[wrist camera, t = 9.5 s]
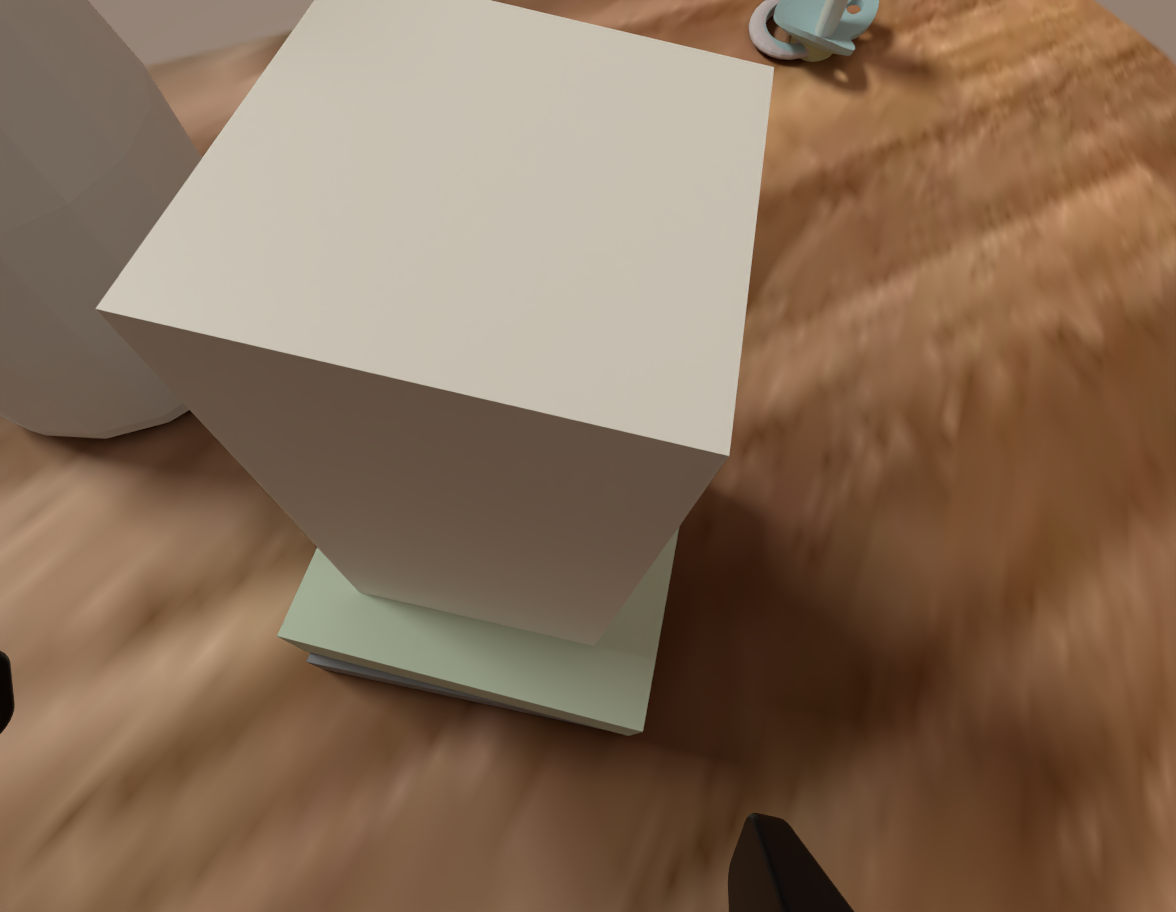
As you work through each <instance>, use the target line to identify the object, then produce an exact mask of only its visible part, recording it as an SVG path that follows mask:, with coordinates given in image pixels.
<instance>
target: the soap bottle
mask: <svg viewBox="0 0 1176 912" xmlns="http://www.w3.org/2000/svg"><path fill="white" fill-rule="evenodd" d="M201 159H202V157H201V155H200V154H199V152H198V151H197V149H196V147H195V146H194V144H193V143H192V141H191V140H190V138H189V136H188V135H187V133H186V132H185V130H184V128H183V127H182V125H181V124H180V122H179V120H178V119H177V117H176V116H175V114H174V112H173V111H172V109H171V108H170V106H169V104H168V103H167V101H166V100H165V98H164V96H163V95H162V93H161V92H160V90H159V89H158V87H157V85H156V84H155V82H154V81H153V79H152V77H151V76H150V74H149V73H148V71H147V69H146V68H145V66H144V65H143V63H142V62H141V61H140V60H139V58H138V57H137V56H136V55H135V54H134V53H133V52H132V51H131V49H130V48H129V47H128V46H127V45H126V44H125V42H124V41H123V40H122V39H121V38H120V37H119V36H118V35H117V33H116V32H115V31H114V30H113V29H112V27H111V26H110V25H109V24H108V23H107V22H106V21H105V19H104V18H103V17H102V16H101V15H100V14H99V13H98V12H97V10H96V9H95V8H94V7H93V6H92V5H91V3H90V2H89V1H88V0H0V417H2V418H4V419H6V420H9V421H11V422H13V423H15V424H17V425H19V426H21V427H23V428H25V429H28V430H30V431H33V432H36V433H39V434H42V435H48V436H67V437H86V438H105V439H106V438H110V437H114V436H118V435H122V434H126V433H130V432H133V431H137V430H141V429H145V428H149V427H153V426H156V425H160V424H164V423H168V422H170V421H172V420H174V419H175V418H177V417H178V416H180V415H182V414H183V413H185V412H187V411H188V410H189V409H188V408H187V407H186V406H185V405H184V403H183V402H182V401H181V400H180V399H179V398H178V397H177V396H176V395H175V394H174V393H173V392H172V391H171V390H170V388H169V387H168V386H167V385H166V384H165V383H164V382H163V381H162V380H161V379H160V378H159V377H158V376H157V374H156V373H155V372H154V371H153V370H152V369H151V368H150V367H149V366H148V365H147V364H146V363H145V362H144V360H143V359H142V358H141V357H140V356H139V355H138V354H137V353H136V352H135V351H134V350H133V349H132V348H131V347H130V345H129V344H128V343H127V342H126V341H125V340H124V339H123V338H122V337H121V336H120V335H119V334H118V333H117V331H116V330H115V329H114V328H113V327H112V326H111V325H110V324H109V323H108V322H107V321H106V320H105V319H104V317H103V316H102V315H101V314H100V313H99V312H98V311H97V310H96V307H97V306H98V304H99V303H100V302H101V300H102V299H103V297H104V296H105V295H106V293H107V292H108V290H109V289H110V287H111V286H112V285H113V283H114V282H115V280H116V279H117V278H118V276H119V275H120V273H121V272H122V271H123V269H124V268H125V266H126V265H127V264H128V262H129V261H130V259H131V258H132V257H133V255H134V254H135V252H136V251H137V249H138V248H139V247H140V245H141V244H142V242H143V241H144V240H145V238H146V237H147V235H148V234H149V233H150V231H151V230H152V228H153V227H154V226H155V224H156V223H157V221H158V220H159V218H160V217H161V216H162V214H163V213H164V211H165V210H166V209H167V207H168V206H169V204H170V203H171V202H172V200H173V199H174V197H175V196H176V195H177V193H178V192H179V190H180V189H181V187H182V186H183V185H184V183H185V182H186V180H187V179H188V178H189V176H190V175H191V173H192V172H193V171H194V169H195V168H196V166H197V165H198V164H199V162H200V161H201Z"/></svg>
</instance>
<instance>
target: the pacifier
mask: <svg viewBox="0 0 1176 912" xmlns="http://www.w3.org/2000/svg"><path fill="white" fill-rule="evenodd" d="M878 4H879V0H765V1H764V2H762V3H761V4H760V5H759V6H758V7H757V8H756V10H755V11H754V13H753V15H752V17H751V19H750V23H749V33H750V38H751V40H752V42H753V44H754V45H755V46H756V47H757V48H758V49H759V50H760V51H761V52H763V53H765V54H767V55H768V56H770V57H774V58H778V59H788V60H791V59H798V58H800V59H802V60H805V61H810V62H816V61H821V60H824V59H826V58H828V57H830V56H831V55H832V54H839V55H845V56H851V54H852V53H853V51H854V50H855V46H854V44H853V42H852V41H851V40H852V39H855V38H857V37H858V36H860V35H861V34H863V33H864V32H865V31H866V30H867V28H868V27H869V26H870V24H871V22H872V21H873V19H874V18H875V15H876V13H877V10H878ZM851 5H858V6H859V7H860V9H861V11H860V12H859V13H857V14H850V13H848V12H847V10H846V8H847V7H848V6H851ZM773 15H774V21H775V22H776V24H777V25H779V26H780V27H781V28H782V29H783V30H784V31H786V32H787V33H788V34H790V35H791V40H790V44H788V43H784V42H780V41H778V40H777V39H775V38H773V37H772V36H771V35H770V34H769V32H768V30H767V28H766V22H767V20H768V19H769V18H770V17H771V16H773Z"/></svg>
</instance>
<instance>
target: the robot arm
mask: <svg viewBox="0 0 1176 912" xmlns="http://www.w3.org/2000/svg"><path fill="white" fill-rule="evenodd" d="M13 712H14V694H13V684H12V674H11V664H10V660H9V658H8V656H7V655H6V654H5V653H3V652H2V651H0V734H1V733H2V731H3V730H4V729H5V728H6V726H7V725H8V723H9V722H10V720H11V717H12V715H13ZM728 898H729V912H854V911H853V909H852V908H851V907H850V905H849V904H848V903H847V901H846V900H845V899H844V897H843V896H842V895H841V893H840V892H839V891H838V889H837V888H836V887H835V885H834V884H833V883H832V881H831V880H830V879H829V877H828V876H827V875H826V873H825V872H824V871H823V869H822V868H821V867H820V865H819V864H818V863H817V861H816V860H815V859H814V857H813V856H812V855H811V853H810V852H809V851H808V849H807V848H806V847H805V845H804V844H803V843H802V841H801V840H800V838H799V837H798V836H797V834H796V833H795V832H794V830H793V829H792V828H791V826H790V825H789V824H788V823H787V822H786V821H785V820H783V819H781V818H777V817H772V816H768V815H763V814H758V813H752V814H750V815H749V816H748V817H747V819H746V821H745V823H744V826H743V829H742V832H741V834H740V837H739V840H738V843H737V845H736V848H735V851H734V854H733V857H732V859H731V863H730V867H729V874H728Z"/></svg>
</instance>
